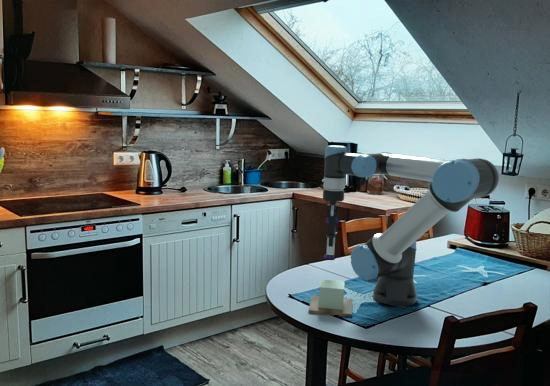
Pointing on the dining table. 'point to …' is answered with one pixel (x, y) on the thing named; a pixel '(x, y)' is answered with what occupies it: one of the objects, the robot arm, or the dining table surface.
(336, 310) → the walnut board
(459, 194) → the robot arm
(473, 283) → the dining table surface
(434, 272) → the dining table surface
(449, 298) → the dining table surface
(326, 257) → the toy lamp
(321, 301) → the sage block
